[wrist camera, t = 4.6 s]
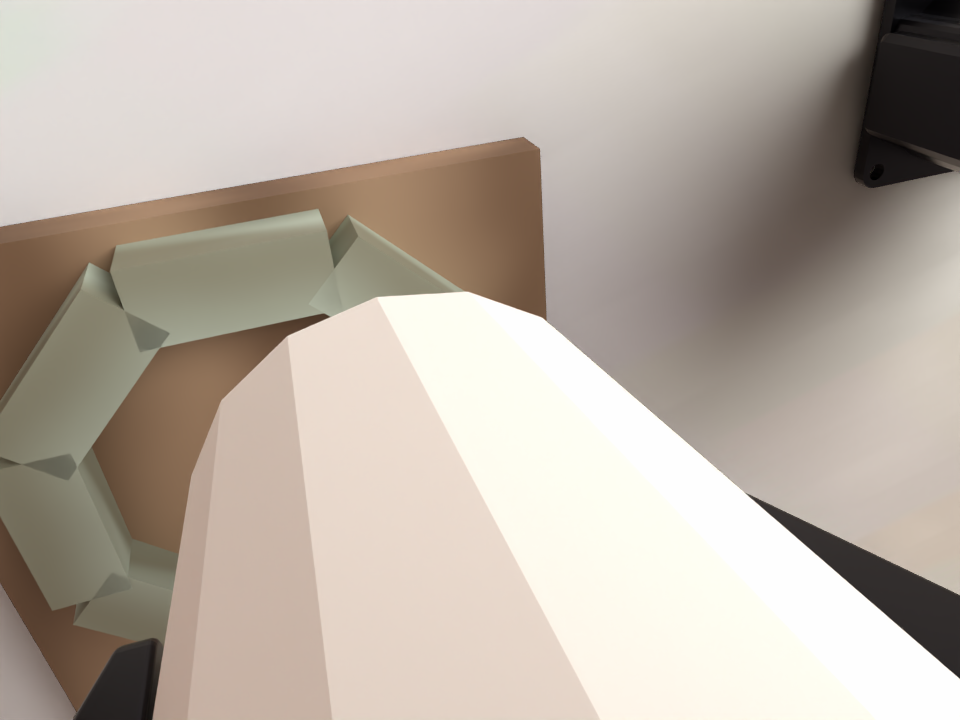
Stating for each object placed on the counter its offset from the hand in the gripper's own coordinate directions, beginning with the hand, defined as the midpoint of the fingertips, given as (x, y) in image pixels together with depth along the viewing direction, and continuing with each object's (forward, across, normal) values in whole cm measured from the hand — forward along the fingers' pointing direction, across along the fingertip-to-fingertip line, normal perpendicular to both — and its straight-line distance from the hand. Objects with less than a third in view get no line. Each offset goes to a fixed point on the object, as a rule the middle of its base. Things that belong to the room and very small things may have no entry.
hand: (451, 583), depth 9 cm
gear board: (+13, +2, +11) cm, 17 cm away
